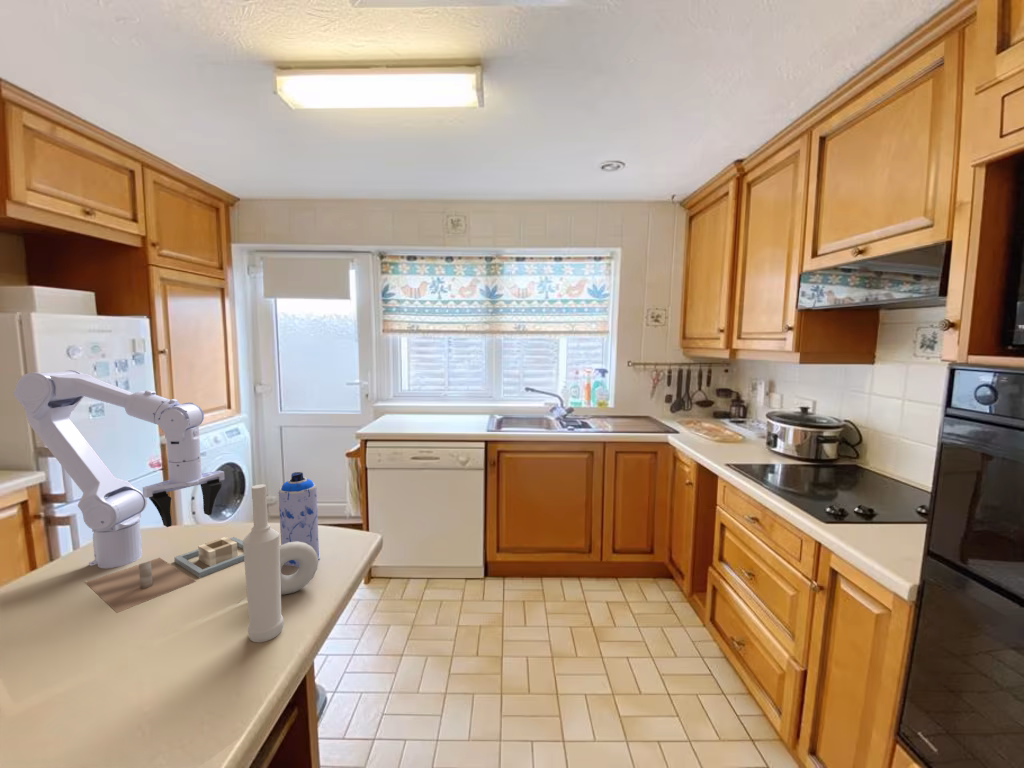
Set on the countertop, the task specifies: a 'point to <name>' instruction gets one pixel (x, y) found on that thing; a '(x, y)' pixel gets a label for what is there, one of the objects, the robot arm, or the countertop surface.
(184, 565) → the tray
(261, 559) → the bottle
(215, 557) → the hollow wooden block
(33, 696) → the countertop surface
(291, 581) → the donut
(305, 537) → the aerosol can
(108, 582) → the stake board
